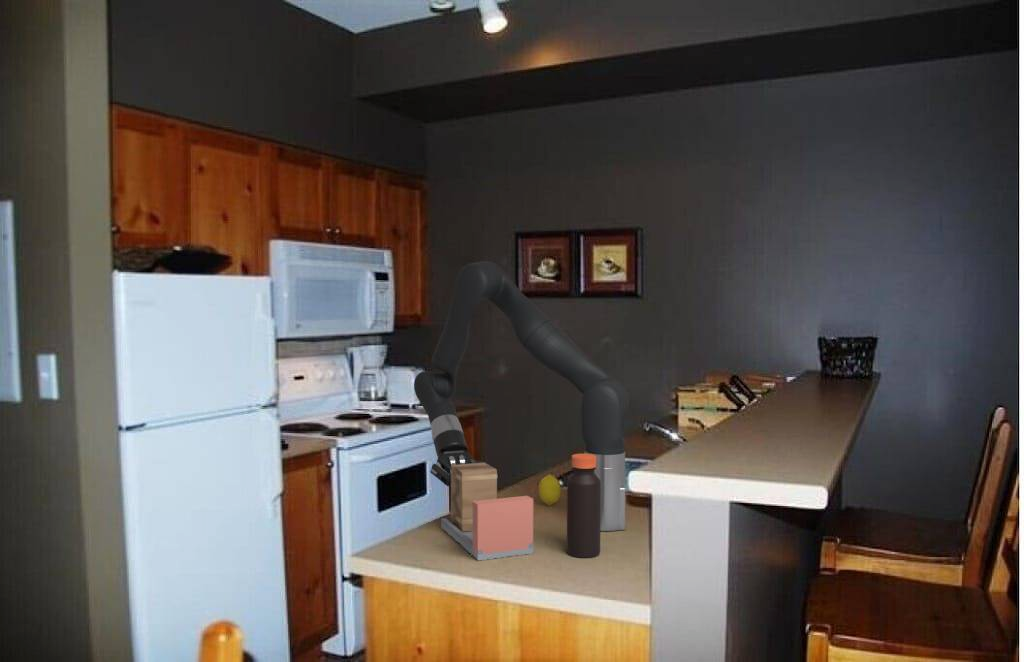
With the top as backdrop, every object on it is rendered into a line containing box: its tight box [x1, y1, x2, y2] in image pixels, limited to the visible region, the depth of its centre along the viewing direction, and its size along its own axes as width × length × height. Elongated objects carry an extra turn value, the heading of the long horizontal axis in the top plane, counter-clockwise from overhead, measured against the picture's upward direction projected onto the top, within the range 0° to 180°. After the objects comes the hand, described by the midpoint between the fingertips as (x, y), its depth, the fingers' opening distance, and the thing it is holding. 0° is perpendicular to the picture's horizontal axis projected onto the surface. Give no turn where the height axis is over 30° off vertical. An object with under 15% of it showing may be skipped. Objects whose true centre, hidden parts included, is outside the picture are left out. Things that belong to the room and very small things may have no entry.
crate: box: [450, 462, 498, 532], centre depth 173 cm, size 8×8×13 cm
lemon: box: [538, 474, 561, 507], centre depth 195 cm, size 6×6×8 cm
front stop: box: [473, 495, 534, 555], centre depth 156 cm, size 3×12×10 cm, turn 112°
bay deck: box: [440, 517, 534, 562], centre depth 166 cm, size 24×12×2 cm, turn 22°
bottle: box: [566, 453, 601, 559], centre depth 157 cm, size 7×7×20 cm
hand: (464, 498), depth 179 cm, fingers closed
